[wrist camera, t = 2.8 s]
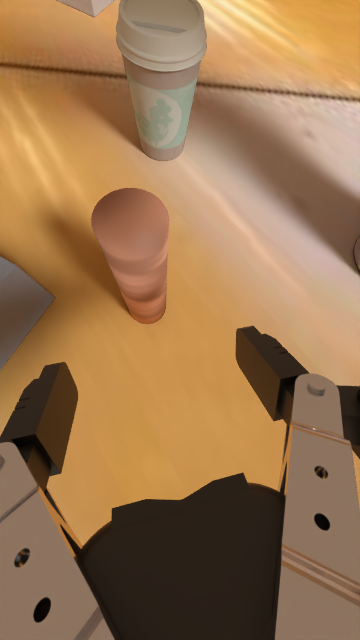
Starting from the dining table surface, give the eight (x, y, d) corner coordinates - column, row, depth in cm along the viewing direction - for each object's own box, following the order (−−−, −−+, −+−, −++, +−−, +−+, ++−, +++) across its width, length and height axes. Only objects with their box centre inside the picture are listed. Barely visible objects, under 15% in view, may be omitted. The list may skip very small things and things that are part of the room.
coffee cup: (117, 145, 32) (90, 6, 20) (158, 112, 34) (156, -30, 22) (166, 180, 31) (168, 56, 19) (205, 144, 33) (229, 12, 21)
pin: (140, 283, 26) (118, 176, 13) (172, 299, 26) (182, 208, 13) (121, 312, 25) (75, 230, 12) (154, 330, 25) (144, 266, 12)
